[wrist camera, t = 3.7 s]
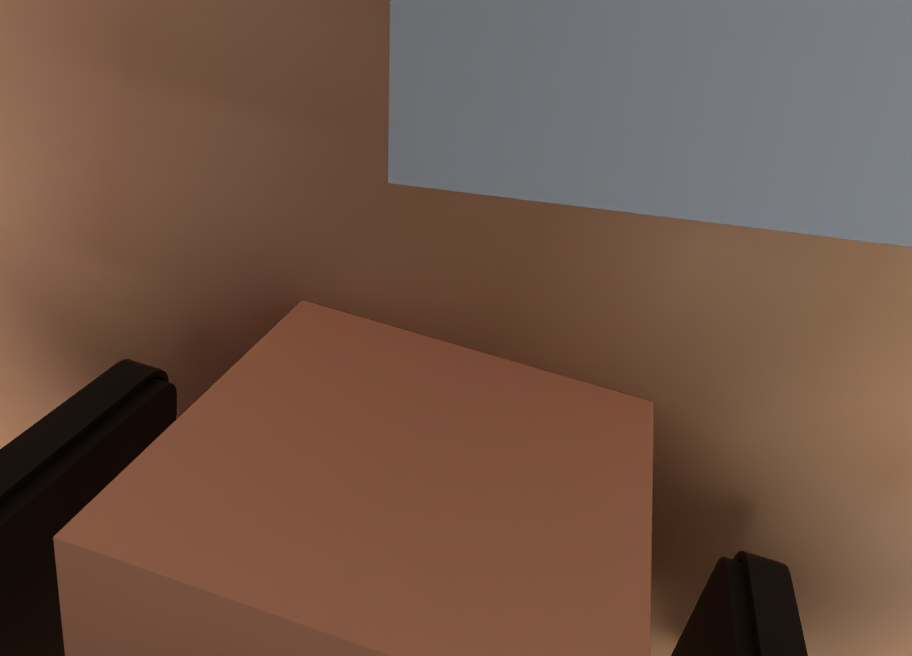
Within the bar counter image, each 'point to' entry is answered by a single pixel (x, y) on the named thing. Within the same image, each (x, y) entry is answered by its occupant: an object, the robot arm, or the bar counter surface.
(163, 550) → the terracotta block
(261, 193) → the bar counter surface
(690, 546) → the bar counter surface
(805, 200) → the slate block
